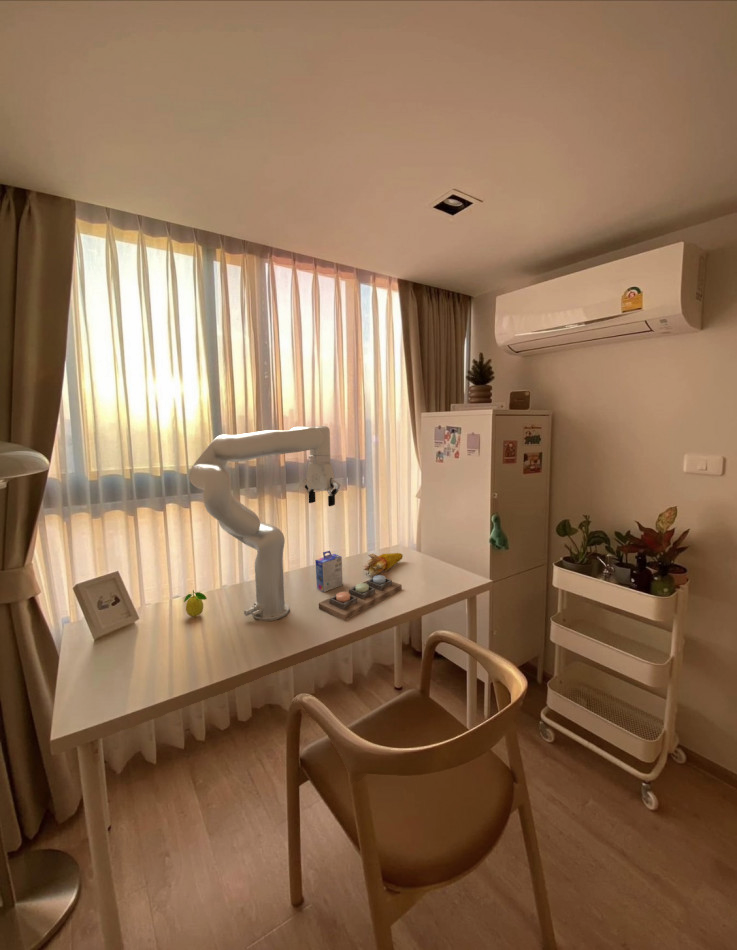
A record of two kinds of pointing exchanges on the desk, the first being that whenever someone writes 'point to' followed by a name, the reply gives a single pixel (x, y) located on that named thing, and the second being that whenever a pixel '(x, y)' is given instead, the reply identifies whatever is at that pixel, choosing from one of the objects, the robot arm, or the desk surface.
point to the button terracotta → (343, 597)
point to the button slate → (379, 579)
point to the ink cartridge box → (329, 572)
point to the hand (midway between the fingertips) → (321, 504)
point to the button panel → (359, 599)
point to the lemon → (194, 603)
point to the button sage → (362, 588)
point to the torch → (381, 563)
